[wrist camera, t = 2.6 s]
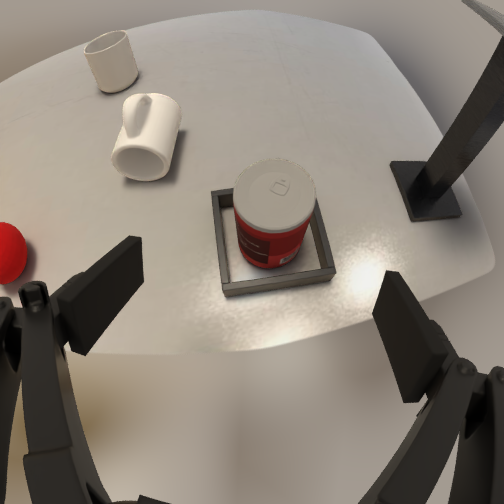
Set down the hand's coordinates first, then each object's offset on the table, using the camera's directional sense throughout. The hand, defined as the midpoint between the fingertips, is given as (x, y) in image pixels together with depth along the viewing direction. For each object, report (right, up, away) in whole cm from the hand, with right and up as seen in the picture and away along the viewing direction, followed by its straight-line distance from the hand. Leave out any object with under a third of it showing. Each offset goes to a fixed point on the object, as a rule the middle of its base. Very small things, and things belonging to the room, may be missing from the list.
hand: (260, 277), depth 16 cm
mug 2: (-15, +16, +27) cm, 35 cm away
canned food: (+2, +3, +22) cm, 22 cm away
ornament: (-37, -1, +21) cm, 42 cm away
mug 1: (-28, +38, +36) cm, 59 cm away
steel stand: (+26, +11, +25) cm, 38 cm away
